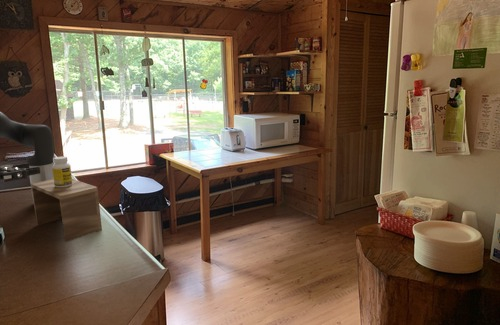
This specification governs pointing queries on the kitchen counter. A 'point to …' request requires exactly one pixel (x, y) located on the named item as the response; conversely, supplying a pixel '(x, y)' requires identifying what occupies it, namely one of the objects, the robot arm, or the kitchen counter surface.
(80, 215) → the cubby
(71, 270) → the kitchen counter surface
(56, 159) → the supplement bottle
